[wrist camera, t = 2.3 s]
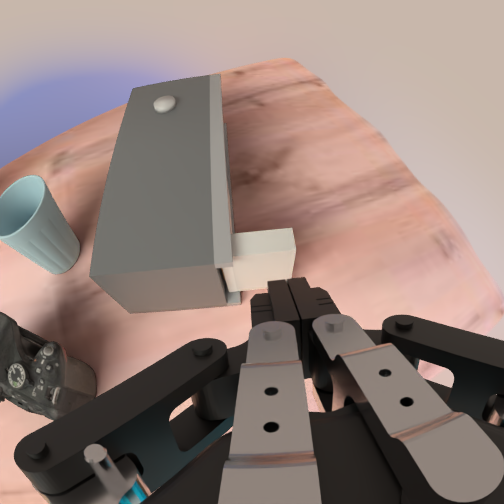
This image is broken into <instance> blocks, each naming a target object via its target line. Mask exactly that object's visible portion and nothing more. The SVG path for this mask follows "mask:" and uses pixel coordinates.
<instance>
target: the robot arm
mask: <svg viewBox="0 0 504 504" xmlns="http://www.w3.org/2000/svg"><path fill="white" fill-rule="evenodd" d="M267 286H268V293H262V294H255V295H254V296H253V298H252V299H251V300H250V302H251V320H252V329H251V330H250V333H249V340H248V341H246V342H245V343H243V344H241V345H239V346H236V347H232V348H229V349H227V347H226V345H225V343H224V342H222V341H220V340H218V339H213V338H203V339H197V340H194V341H191V342H189V343H187V344H185V345H184V346H182V347H181V348H179V349H177V350H176V351H174V352H172V353H171V354H169V355H167V356H166V357H164V358H163V359H161V360H159V361H158V362H156V363H154V364H153V365H151V366H149V367H148V368H146V369H144V370H143V371H141V372H139V373H137V374H136V375H134V376H132V377H131V378H129V379H127V380H126V381H124V382H122V383H121V384H119V385H117V386H115V387H114V388H112V389H110V390H108V391H107V392H105V393H103V394H101V395H100V396H98V397H96V398H94V399H93V400H91V401H89V402H87V403H86V404H84V405H82V406H80V407H79V408H77V409H75V410H73V411H71V412H70V413H68V414H66V415H64V416H62V417H60V418H59V419H57V420H55V421H53V422H51V423H49V424H48V425H46V426H44V427H42V428H40V429H38V430H36V431H35V432H33V433H31V434H29V435H27V436H26V437H24V438H23V439H22V440H21V441H20V442H19V443H18V444H17V446H16V448H15V451H14V460H15V462H16V464H17V466H18V467H19V468H20V469H21V471H22V472H23V473H24V474H25V475H26V477H27V478H28V479H29V480H30V481H31V483H32V485H33V487H34V488H35V489H36V490H37V491H38V493H39V494H40V495H41V496H42V497H43V498H44V499H45V500H46V501H47V502H48V503H49V504H504V341H502V340H498V339H495V338H491V337H487V336H484V335H480V334H476V333H472V332H469V331H465V330H461V329H458V328H454V327H450V326H447V325H443V324H439V323H436V322H432V321H429V320H425V319H421V318H418V317H414V316H410V315H394V316H391V317H388V318H387V319H385V320H384V321H383V324H382V330H364V329H362V328H361V327H360V326H359V324H358V323H357V322H356V321H355V320H354V319H353V318H351V317H349V316H347V315H342V314H341V313H340V312H339V310H338V308H337V307H336V305H335V303H334V302H333V300H332V299H331V297H330V295H329V294H328V292H327V291H325V290H323V289H321V288H320V287H316V288H310V286H309V284H308V282H307V280H306V278H305V277H301V278H291V279H287V280H286V279H282V280H273V281H267ZM420 359H421V360H424V361H427V362H430V363H433V364H436V365H439V366H442V367H445V368H447V369H449V370H450V371H451V372H452V373H453V375H454V383H453V386H452V388H450V387H447V386H444V385H440V384H438V383H435V382H432V381H429V380H426V379H424V378H423V377H422V376H421V375H420V374H419V373H418V372H417V370H418V365H419V360H420ZM307 378H312V381H313V396H314V399H315V401H316V403H317V406H318V408H319V411H320V412H308V405H307V397H306V390H305V383H304V379H307ZM496 394H497V395H496ZM190 397H191V398H192V402H193V404H192V405H191V406H190V407H188V408H187V409H186V410H184V411H183V412H182V413H180V414H179V415H178V416H176V417H175V418H173V419H172V420H171V421H169V418H170V415H171V413H172V411H173V410H174V409H175V408H176V407H177V406H179V405H180V404H182V403H183V402H184V401H186V400H187V399H188V398H190ZM232 426H233V430H232V431H231V432H229V433H227V434H225V435H223V434H224V433H226V432H227V431H228V430H229V429H230V428H231V427H232ZM222 435H223V436H222ZM160 486H161V487H160ZM159 487H160V488H159ZM156 489H157V490H156ZM155 490H156V491H155ZM154 491H155V492H154ZM152 492H153V493H152ZM151 493H152V494H151Z"/></svg>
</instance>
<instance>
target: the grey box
mask: <svg viewBox="0 0 504 504" xmlns="http://www.w3.org/2000/svg"><path fill="white" fill-rule="evenodd" d="M227 183H228V188H227ZM228 189H229V196H230V207H231V220H232V233H233V234H235V229H234V217H233V204H232V192H231V179H230V166H229V153H228V139H227V126H226V123H223V109H222V91H221V76H220V74H215V75H207V76H200V77H193V78H186V79H180V80H173V81H168V82H162V83H157V84H152V85H147V86H142V87H137V88H133V89H132V92H131V95H130V98H129V101H128V104H127V107H126V111H125V114H124V117H123V120H122V124H121V127H120V130H119V134H118V137H117V141H116V144H115V148H114V152H113V156H112V160H111V163H110V167H109V172H108V176H107V180H106V184H105V189H104V193H103V198H102V203H101V208H100V213H99V218H98V223H97V229H96V235H95V241H94V247H93V253H92V260H91V267H90V275H89V277H90V278H92V279H93V280H94V281H95V282H96V283H97V284H98V285H99V286H100V287H101V288H102V289H103V290H104V291H105V292H107V293H108V294H109V295H110V296H111V297H112V298H113V299H114V300H115V301H117V302H118V303H119V304H120V305H121V306H122V307H123V308H124V309H126V310H127V311H128V312H129V313H146V312H161V311H175V310H188V309H200V308H211V307H222V306H233V305H241V298H240V291H237V292H229V291H228V287H227V284H226V280H225V276H224V273H223V269H222V268H225V267H233V255H232V243H231V229H230V216H229V202H228Z"/></svg>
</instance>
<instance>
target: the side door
mask: <svg viewBox="0 0 504 504" xmlns="http://www.w3.org/2000/svg"><path fill="white" fill-rule="evenodd" d="M227 188H228V183H227ZM228 202H229V216H230V229H231V243H232V255H233V267H225V268H222V269H223V273H224V276H225V280H226V284H227V287H228V291H229V292H237V291H246V290H256V289H265V288H268V286H267V281H273V280H282V279H286V280H287V279H291V278H292V272H293V266H294V260H295V255H296V246H295V240H294V235H293V230H292V228H284V229H274V230H264V231H254V232H244V233H235V234H233V233H232V220H231V207H230V196H229V189H228Z"/></svg>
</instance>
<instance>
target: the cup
mask: <svg viewBox="0 0 504 504" xmlns="http://www.w3.org/2000/svg"><path fill="white" fill-rule="evenodd" d="M0 240H1V241H3V242H4V243H6V244H7V245H9V246H10V247H12V248H13V249H15V250H16V251H18V252H19V253H21V254H22V255H24V256H25V257H27V258H28V259H30V260H31V261H33V262H35V263H36V264H38V265H39V266H41V267H42V268H44V269H46V270H47V271H49V272H51V273H53V274H61V273H64V272H66V271H67V270H69V269H70V268H71V267H72V266H73V265H74V264H75V262H76V261H77V259H78V256H79V253H80V243H79V241H78V239H77V237H76V236H75V234H74V232H73V231H72V229H71V228H70V226H69V224H68V223H67V221H66V219H65V218H64V216H63V214H62V213H61V211H60V209H59V207H58V206H57V204H56V202H55V201H54V199H53V197H52V195H51V193H50V191H49V189H48V187H47V186H46V184H45V182H44V180H43V179H42V178H41V177H40V176H37V175H29V176H25V177H23V178H21V179H19V180H17V181H15V182H14V183H13V184H12V185H10V186H9V187H8V188H7V189H6V190H5V191H4V192H3V194H2V195H1V196H0Z"/></svg>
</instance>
